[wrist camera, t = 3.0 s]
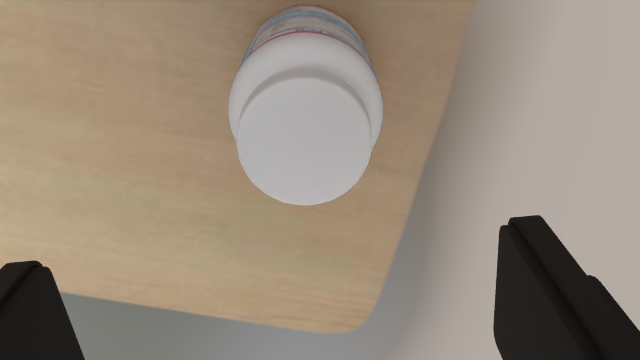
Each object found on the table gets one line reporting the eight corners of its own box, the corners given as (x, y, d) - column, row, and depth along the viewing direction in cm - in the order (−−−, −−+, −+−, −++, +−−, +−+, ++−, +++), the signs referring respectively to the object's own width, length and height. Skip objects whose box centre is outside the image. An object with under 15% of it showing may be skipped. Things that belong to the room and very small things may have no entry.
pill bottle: (324, 138, 30) (328, 253, 20) (228, 78, 28) (180, 170, 18) (390, 46, 28) (432, 124, 18) (290, -24, 26) (273, 17, 16)
